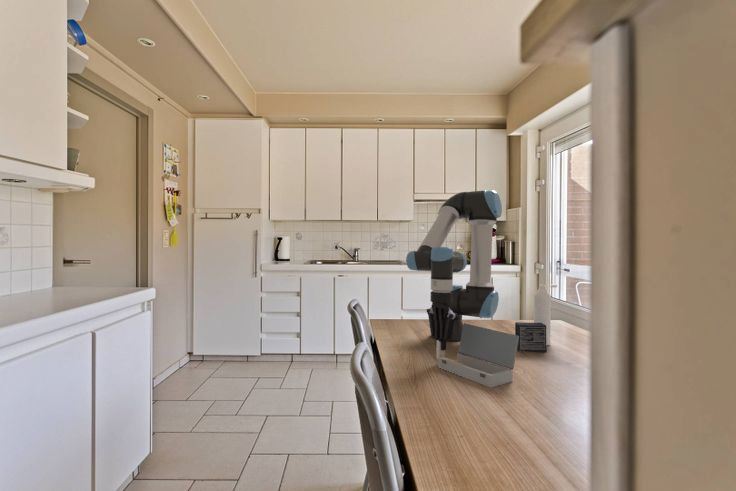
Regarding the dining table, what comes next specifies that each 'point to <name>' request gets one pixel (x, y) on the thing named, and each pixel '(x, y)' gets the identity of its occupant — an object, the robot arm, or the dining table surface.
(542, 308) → the water bottle
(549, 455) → the dining table surface
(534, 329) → the small box
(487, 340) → the cover
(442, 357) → the orange cylinder rod
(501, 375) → the hinged pencil case
